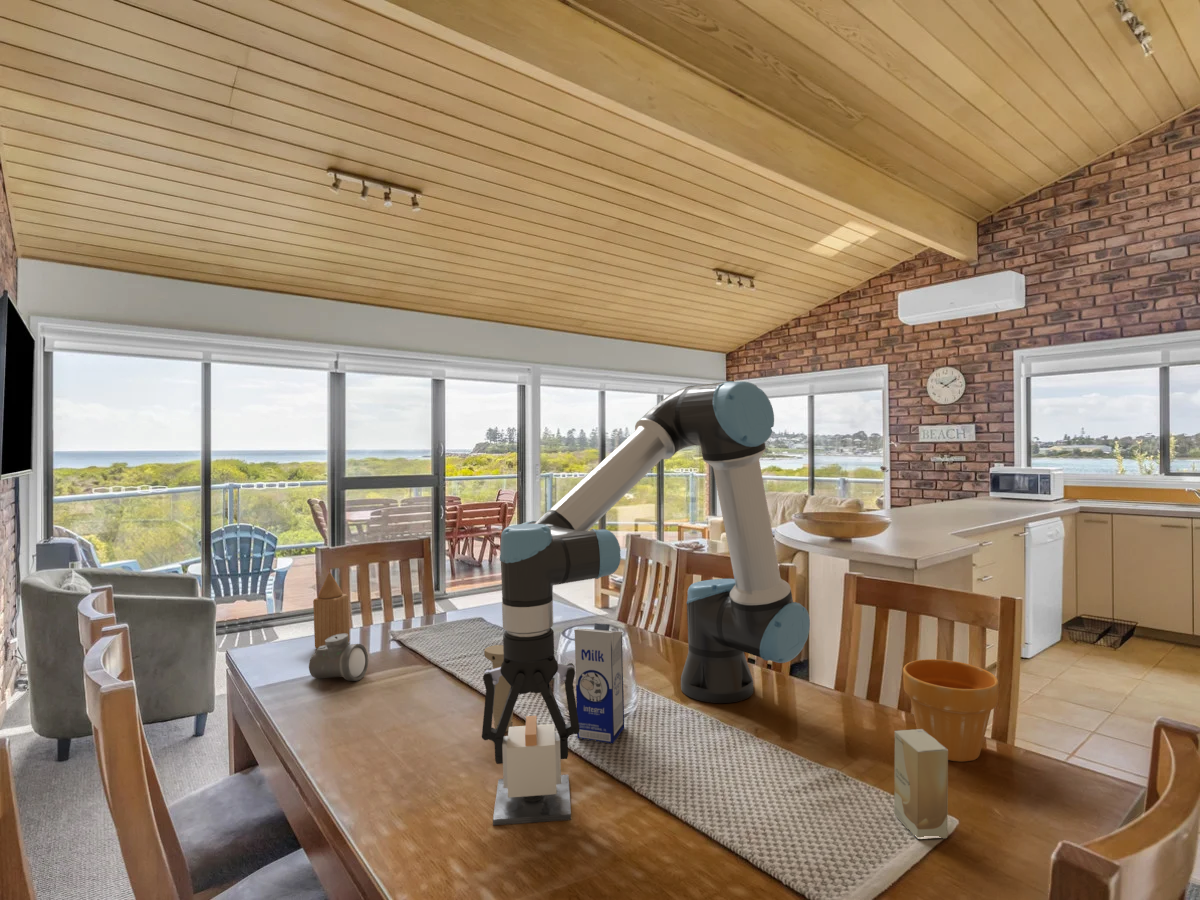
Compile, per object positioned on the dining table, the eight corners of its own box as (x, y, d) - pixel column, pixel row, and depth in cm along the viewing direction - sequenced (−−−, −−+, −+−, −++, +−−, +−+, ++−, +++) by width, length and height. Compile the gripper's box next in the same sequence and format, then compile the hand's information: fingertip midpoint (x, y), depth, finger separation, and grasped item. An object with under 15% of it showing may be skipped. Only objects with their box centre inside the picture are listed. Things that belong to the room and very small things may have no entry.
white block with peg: (556, 794, 96) (554, 734, 95) (507, 797, 95) (506, 737, 95) (555, 769, 103) (554, 713, 102) (510, 772, 102) (508, 716, 102)
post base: (568, 779, 105) (567, 749, 105) (571, 819, 94) (570, 786, 94) (498, 784, 104) (497, 754, 104) (493, 825, 93) (492, 791, 93)
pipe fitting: (373, 671, 155) (365, 629, 154) (352, 687, 147) (344, 642, 146) (329, 673, 158) (321, 632, 157) (307, 689, 150) (298, 645, 149)
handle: (509, 738, 120) (507, 656, 119) (481, 731, 123) (479, 651, 122) (525, 727, 124) (522, 648, 123) (497, 721, 127) (495, 643, 127)
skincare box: (893, 814, 93) (891, 728, 93) (922, 812, 94) (921, 727, 93) (918, 842, 87) (917, 750, 86) (950, 840, 87) (949, 748, 87)
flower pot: (988, 736, 116) (987, 662, 115) (1009, 776, 102) (1008, 693, 102) (899, 726, 120) (899, 655, 120) (909, 763, 107) (908, 684, 107)
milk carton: (576, 738, 119) (573, 628, 118) (589, 722, 125) (587, 618, 125) (613, 744, 116) (610, 631, 116) (625, 727, 123) (622, 620, 122)
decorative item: (313, 649, 173) (311, 573, 173) (328, 641, 180) (325, 568, 179) (337, 649, 172) (334, 573, 172) (350, 641, 179) (348, 568, 178)
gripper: (593, 618, 103) (596, 764, 103) (463, 625, 101) (468, 773, 102) (597, 633, 95) (601, 789, 96) (457, 640, 94) (462, 800, 94)
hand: (532, 781), depth 99 cm, fingers closed on white block with peg, 7 cm apart
